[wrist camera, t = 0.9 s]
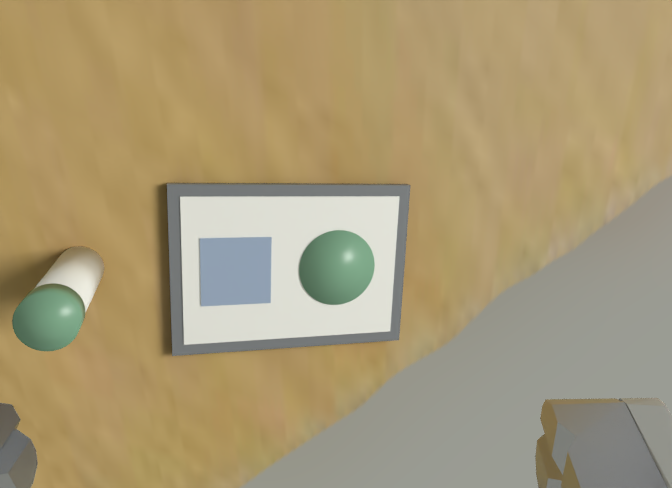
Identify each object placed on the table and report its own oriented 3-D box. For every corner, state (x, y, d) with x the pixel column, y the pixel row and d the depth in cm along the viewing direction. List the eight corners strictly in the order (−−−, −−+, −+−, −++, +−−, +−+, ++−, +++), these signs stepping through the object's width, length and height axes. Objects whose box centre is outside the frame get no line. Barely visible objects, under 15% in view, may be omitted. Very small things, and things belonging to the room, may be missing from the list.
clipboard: (167, 182, 46) (166, 184, 45) (406, 184, 51) (411, 185, 50) (172, 351, 50) (172, 356, 49) (396, 336, 55) (399, 340, 54)
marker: (53, 245, 45) (9, 295, 34) (104, 244, 46) (77, 292, 35) (57, 290, 46) (15, 353, 35) (106, 288, 47) (82, 348, 36)
